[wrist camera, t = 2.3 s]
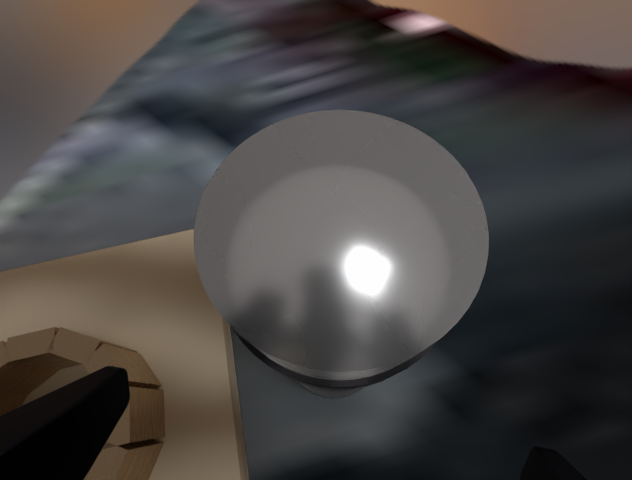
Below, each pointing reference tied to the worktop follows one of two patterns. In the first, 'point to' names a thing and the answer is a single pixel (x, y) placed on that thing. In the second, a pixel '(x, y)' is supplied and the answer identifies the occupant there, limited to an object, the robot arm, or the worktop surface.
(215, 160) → the worktop surface
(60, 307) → the oak base board
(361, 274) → the steel tube
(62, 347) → the wooden collar
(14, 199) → the worktop surface
